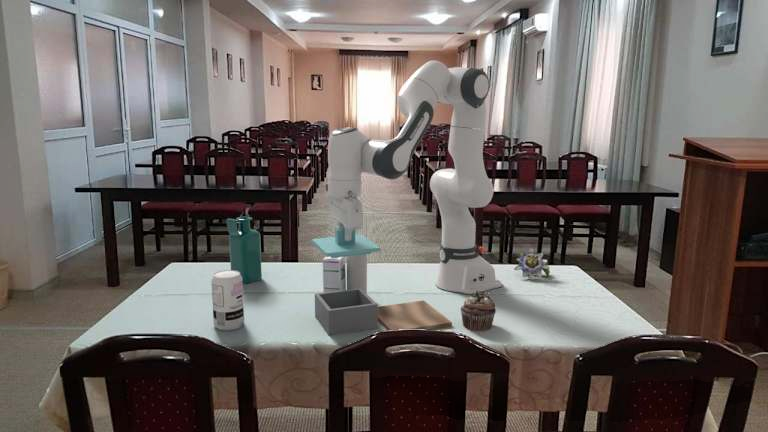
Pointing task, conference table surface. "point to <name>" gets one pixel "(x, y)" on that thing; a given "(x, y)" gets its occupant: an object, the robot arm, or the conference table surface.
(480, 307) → the cupcake
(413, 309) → the walnut board
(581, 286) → the conference table surface
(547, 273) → the passion flower
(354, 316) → the storage box
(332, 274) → the syrup box
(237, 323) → the supplement can
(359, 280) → the travel mug
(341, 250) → the lid
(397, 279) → the conference table surface
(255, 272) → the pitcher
